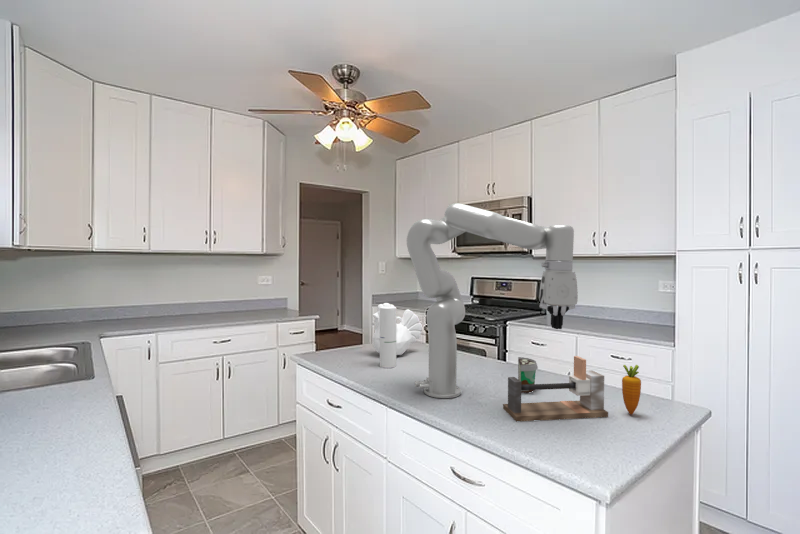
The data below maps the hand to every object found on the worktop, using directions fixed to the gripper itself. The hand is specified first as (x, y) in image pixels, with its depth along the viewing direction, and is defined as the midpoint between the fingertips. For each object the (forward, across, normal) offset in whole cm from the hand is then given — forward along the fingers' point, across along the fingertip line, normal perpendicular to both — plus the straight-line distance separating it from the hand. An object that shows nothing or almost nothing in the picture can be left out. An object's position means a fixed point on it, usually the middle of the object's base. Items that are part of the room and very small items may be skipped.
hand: (556, 328), depth 123 cm
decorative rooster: (+27, -37, +78) cm, 91 cm away
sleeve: (+19, +8, -1) cm, 21 cm away
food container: (+26, +2, +21) cm, 34 cm away
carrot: (+25, +22, -5) cm, 34 cm away
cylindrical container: (+27, -44, +58) cm, 78 cm away
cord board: (+25, 0, -1) cm, 25 cm away
